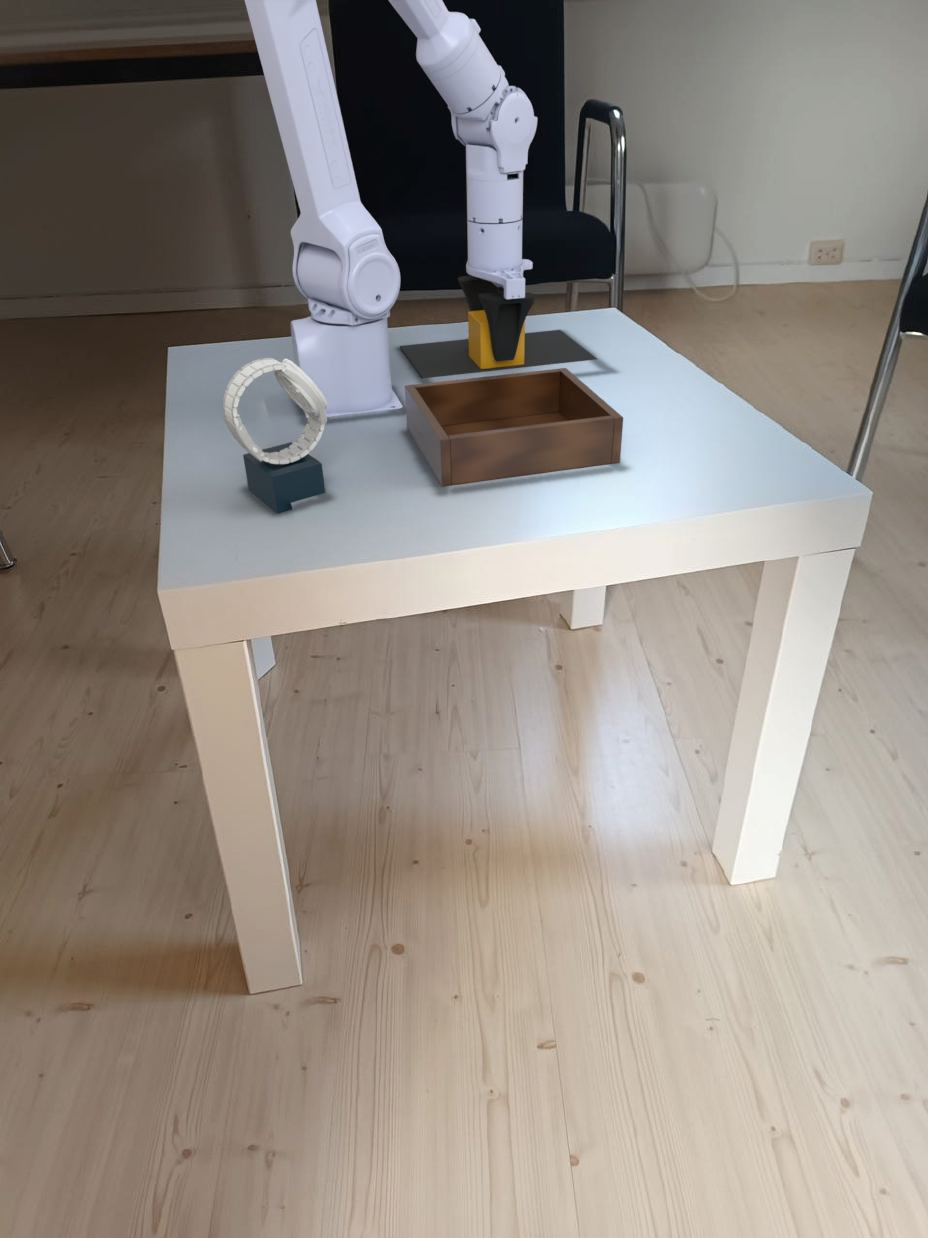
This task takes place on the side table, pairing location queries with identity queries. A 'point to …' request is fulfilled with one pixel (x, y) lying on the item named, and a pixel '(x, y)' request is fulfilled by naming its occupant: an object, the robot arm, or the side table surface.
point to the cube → (488, 343)
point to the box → (511, 426)
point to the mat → (456, 361)
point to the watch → (289, 465)
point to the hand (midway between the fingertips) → (495, 350)
